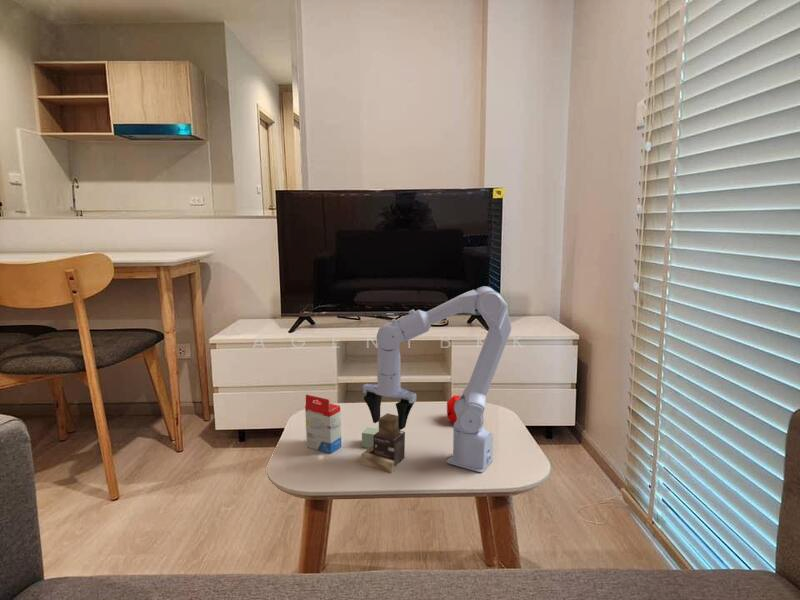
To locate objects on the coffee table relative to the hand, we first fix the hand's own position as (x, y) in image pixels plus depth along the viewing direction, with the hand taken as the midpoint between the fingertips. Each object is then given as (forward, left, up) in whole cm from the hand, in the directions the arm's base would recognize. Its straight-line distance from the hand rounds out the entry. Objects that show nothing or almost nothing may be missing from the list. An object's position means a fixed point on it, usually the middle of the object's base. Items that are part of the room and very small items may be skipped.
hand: (389, 424), depth 119 cm
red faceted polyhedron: (-5, -32, -10) cm, 34 cm away
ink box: (+19, +3, -10) cm, 22 cm away
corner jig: (0, 0, -9) cm, 9 cm away
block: (+9, -5, -10) cm, 14 cm away
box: (0, 0, -10) cm, 10 cm away
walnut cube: (0, 0, -2) cm, 2 cm away
